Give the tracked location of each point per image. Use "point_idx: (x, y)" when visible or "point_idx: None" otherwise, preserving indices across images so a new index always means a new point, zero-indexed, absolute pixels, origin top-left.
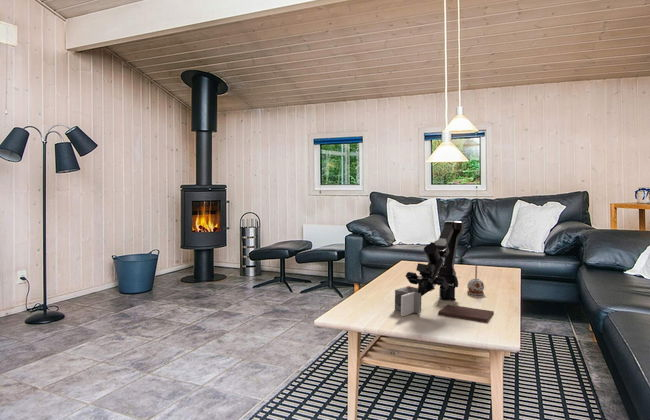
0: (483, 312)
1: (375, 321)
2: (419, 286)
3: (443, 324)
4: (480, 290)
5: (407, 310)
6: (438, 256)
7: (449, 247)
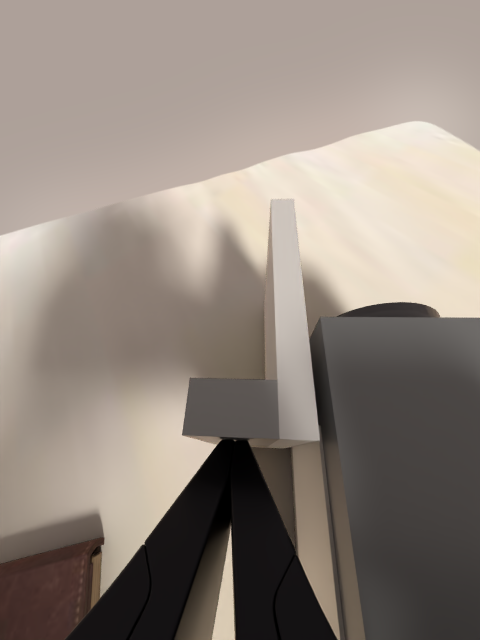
0: None
1: (308, 201)
2: (286, 626)
3: (37, 355)
4: None
5: (265, 334)
6: None
7: None
